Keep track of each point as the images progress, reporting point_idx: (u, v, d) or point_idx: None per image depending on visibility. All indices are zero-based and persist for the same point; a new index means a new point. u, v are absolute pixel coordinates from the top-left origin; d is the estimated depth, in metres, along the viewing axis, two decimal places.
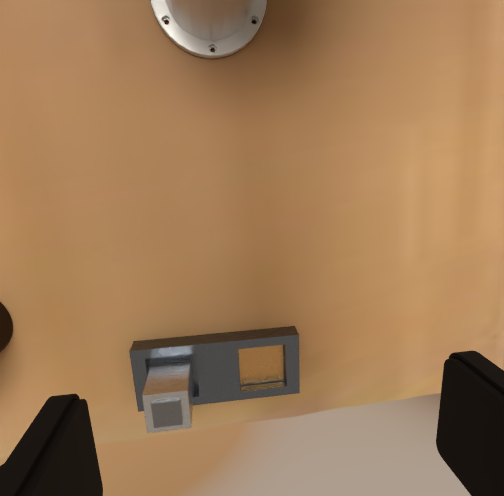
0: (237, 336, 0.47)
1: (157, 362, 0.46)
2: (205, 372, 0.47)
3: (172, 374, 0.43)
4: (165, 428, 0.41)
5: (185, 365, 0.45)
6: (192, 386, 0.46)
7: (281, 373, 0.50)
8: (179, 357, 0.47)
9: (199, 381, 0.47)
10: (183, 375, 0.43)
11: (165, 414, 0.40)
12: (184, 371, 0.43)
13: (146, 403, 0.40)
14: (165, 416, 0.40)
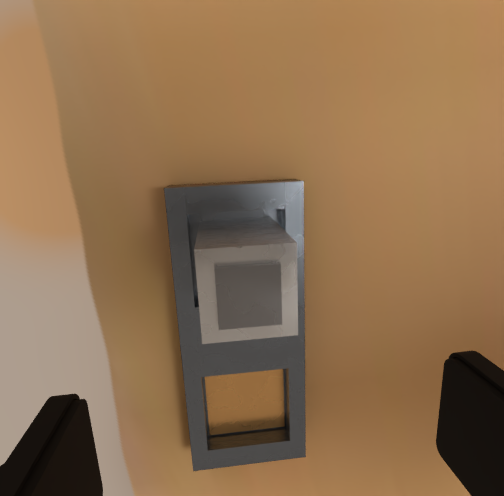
0: None
1: None
2: None
3: None
4: (204, 290, 0.17)
5: None
6: None
7: (220, 430, 0.29)
8: None
9: None
10: None
11: (249, 294, 0.17)
12: None
13: (276, 251, 0.17)
14: (244, 294, 0.17)
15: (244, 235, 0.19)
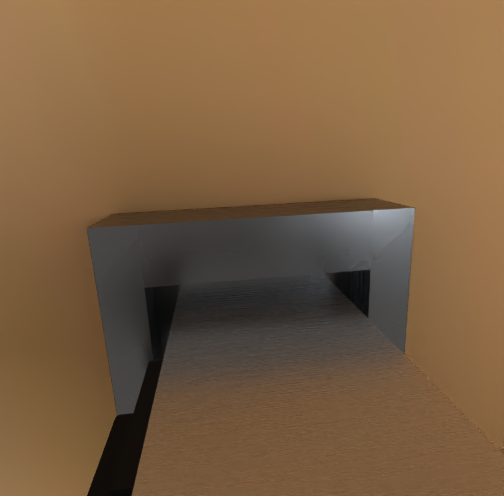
0: None
1: None
2: None
3: None
4: None
5: None
6: None
7: None
8: None
9: None
10: None
11: None
12: None
13: None
14: None
15: (301, 391, 0.06)
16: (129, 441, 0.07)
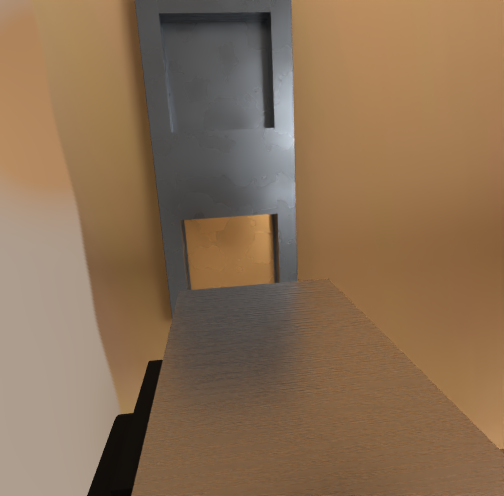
0: None
1: None
2: (229, 146, 0.22)
3: None
4: None
5: None
6: None
7: None
8: None
9: (208, 133, 0.22)
10: None
11: None
12: None
13: None
14: None
15: (301, 390, 0.06)
16: (129, 441, 0.07)
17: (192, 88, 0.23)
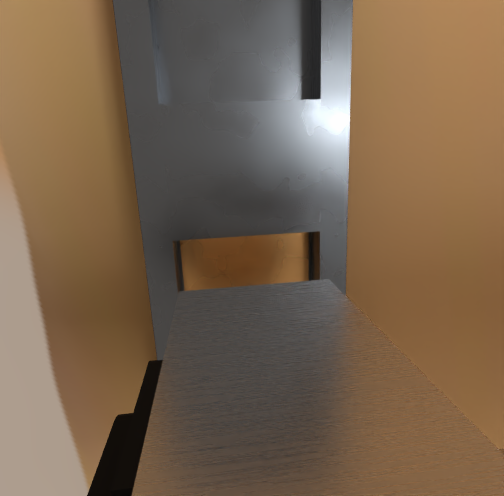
0: None
1: None
2: (249, 127, 0.14)
3: None
4: None
5: None
6: None
7: None
8: None
9: (217, 106, 0.14)
10: None
11: None
12: None
13: None
14: None
15: (301, 391, 0.06)
16: (129, 441, 0.07)
17: (193, 37, 0.15)
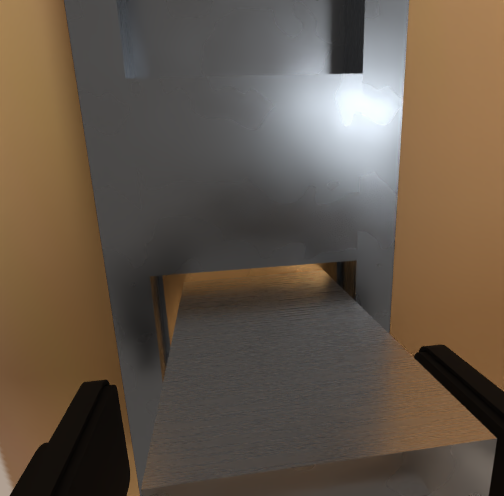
0: None
1: None
2: (260, 114, 0.10)
3: None
4: None
5: None
6: None
7: None
8: None
9: (213, 82, 0.10)
10: None
11: None
12: None
13: (426, 470, 0.05)
14: None
15: (295, 362, 0.07)
16: (30, 483, 0.06)
17: None
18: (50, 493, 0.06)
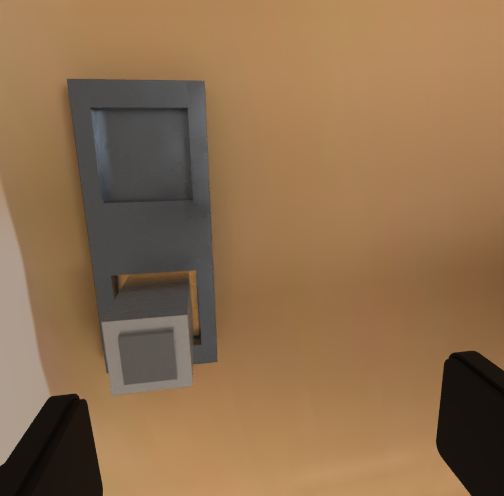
0: None
1: None
2: (153, 215, 0.26)
3: (191, 333, 0.26)
4: (111, 353, 0.21)
5: None
6: None
7: None
8: (192, 317, 0.29)
9: (135, 204, 0.26)
10: (192, 352, 0.25)
11: (148, 356, 0.21)
12: (192, 347, 0.26)
13: (170, 322, 0.21)
14: (143, 356, 0.21)
15: (152, 302, 0.24)
16: None
17: (123, 163, 0.26)
18: None
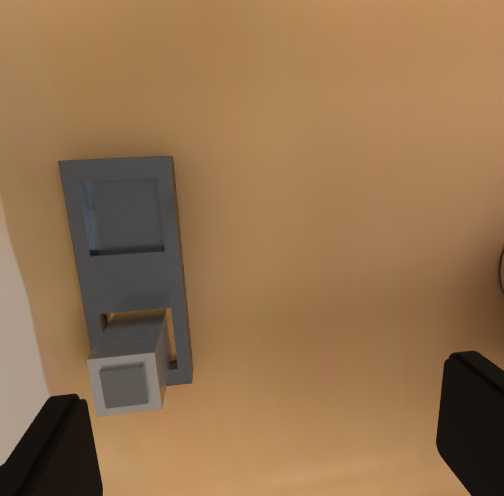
0: (185, 303, 0.34)
1: (165, 323, 0.33)
2: (132, 264, 0.32)
3: (164, 362, 0.31)
4: (95, 383, 0.27)
5: (168, 366, 0.33)
6: None
7: None
8: (169, 346, 0.35)
9: (117, 256, 0.31)
10: (165, 378, 0.31)
11: (124, 386, 0.27)
12: (166, 373, 0.32)
13: (141, 358, 0.27)
14: (120, 386, 0.27)
15: (129, 340, 0.29)
16: None
17: (107, 221, 0.32)
18: None
